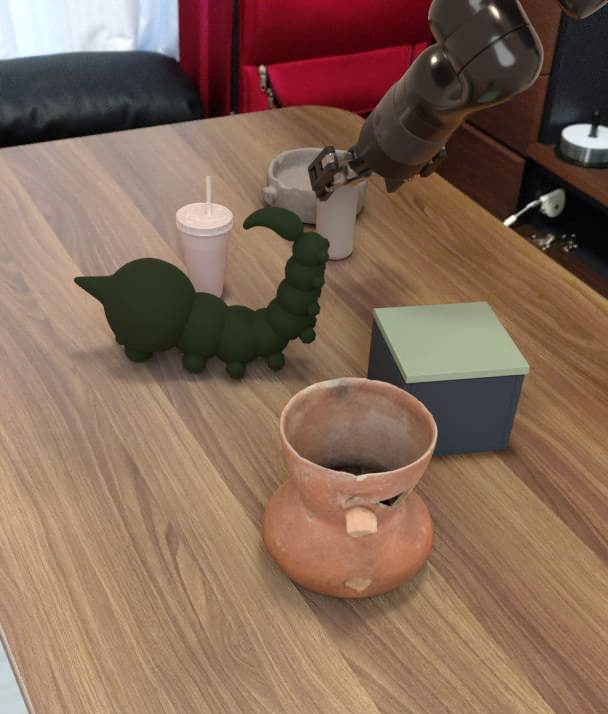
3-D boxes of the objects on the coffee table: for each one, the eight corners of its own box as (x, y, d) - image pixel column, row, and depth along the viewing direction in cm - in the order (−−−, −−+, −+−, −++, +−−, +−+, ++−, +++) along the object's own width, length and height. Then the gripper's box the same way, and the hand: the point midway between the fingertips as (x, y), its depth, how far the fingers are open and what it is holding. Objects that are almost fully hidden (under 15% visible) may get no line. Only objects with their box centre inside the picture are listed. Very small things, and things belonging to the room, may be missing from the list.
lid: (528, 374, 89) (530, 366, 88) (405, 383, 87) (406, 375, 86) (485, 308, 97) (486, 301, 97) (373, 315, 96) (373, 308, 95)
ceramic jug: (439, 629, 79) (467, 498, 69) (260, 626, 78) (262, 494, 68) (417, 482, 91) (438, 354, 82) (262, 479, 91) (265, 350, 81)
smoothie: (231, 308, 112) (230, 191, 102) (176, 306, 112) (169, 188, 102) (235, 280, 117) (234, 165, 107) (181, 277, 116) (176, 162, 107)
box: (507, 449, 96) (525, 375, 89) (392, 460, 94) (403, 384, 88) (471, 381, 104) (485, 308, 97) (365, 389, 102) (373, 316, 96)
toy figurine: (310, 356, 109) (85, 324, 107) (336, 194, 95) (80, 156, 94) (306, 406, 102) (66, 374, 100) (333, 240, 89) (58, 199, 87)
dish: (303, 173, 139) (305, 138, 135) (385, 202, 133) (389, 166, 130) (240, 208, 130) (240, 171, 127) (325, 240, 125) (327, 203, 121)
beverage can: (340, 265, 120) (347, 170, 112) (307, 254, 122) (311, 159, 113) (359, 250, 123) (368, 156, 115) (327, 239, 125) (333, 146, 116)
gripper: (351, 171, 94) (304, 229, 110) (481, 156, 99) (417, 213, 114) (334, 95, 94) (289, 163, 110) (465, 82, 98) (403, 150, 114)
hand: (354, 188), depth 112 cm, fingers open, 8 cm apart
